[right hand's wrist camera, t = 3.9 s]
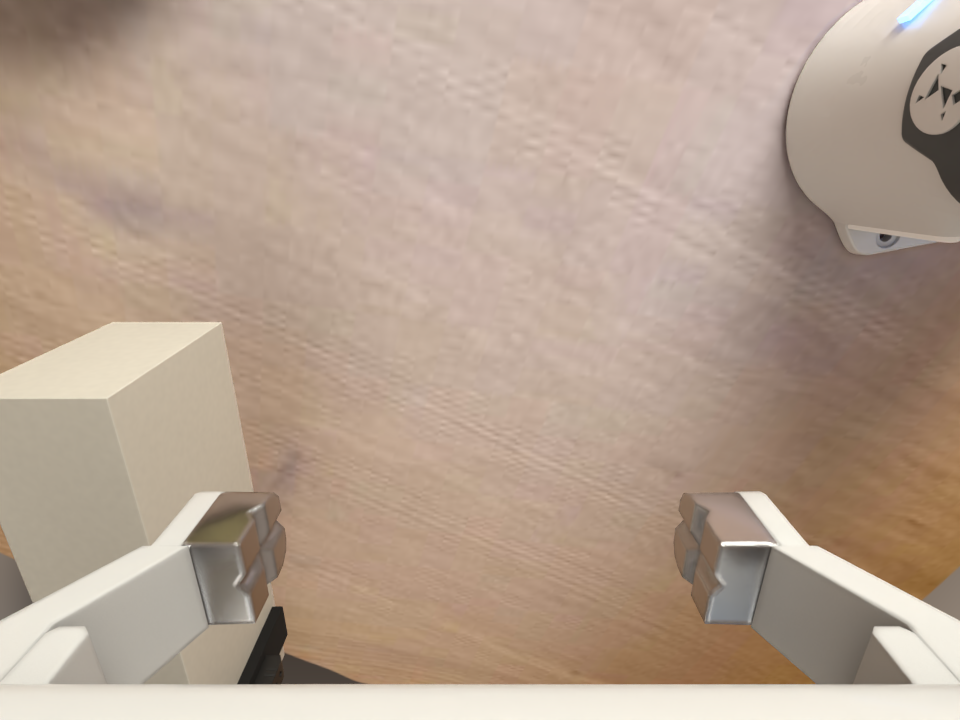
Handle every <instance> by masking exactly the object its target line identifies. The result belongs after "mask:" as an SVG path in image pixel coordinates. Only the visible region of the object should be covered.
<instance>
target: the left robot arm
mask: <svg viewBox="0 0 960 720" xmlns="http://www.w3.org/2000/svg"><path fill="white" fill-rule="evenodd" d="M286 637H287V629H286V623H285V618H284V612H283V607H272V608H271V610H270V612H269V615H268V617H267V619H266V621H265V623H264V626H263V628H262V630H261V632H260V634H259V637H258V639H257V641H256V643H255V645H254V648H253V650H252V652H251V654H250V656H249V659H248V661H247V663H246V665H245V667H244V670H243V672H242V674H241V676H240V678H239V681H238V683H237V684H281V683H282V680H283V677H284V673H283V666H282V660H281V655H279V654H280V652H281V649H282V647H283V644H284V642H285V639H286Z"/></svg>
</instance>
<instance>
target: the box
mask: <svg viewBox="0 0 960 720" xmlns="http://www.w3.org/2000/svg"><path fill="white" fill-rule="evenodd" d="M202 491H222V492H254V490H253V485H252V480H251V475H250V469H249V464H248V459H247V453H246V448H245V443H244V438H243V432H242V427H241V422H240V416H239V411H238V406H237V400H236V395H235V390H234V385H233V379H232V374H231V369H230V363H229V358H228V353H227V348H226V342H225V337H224V332H223V326H222V322H112V323H109V324H107V325H105V326H103V327H101V328H99V329H97V330H94V331H92V332H90V333H88V334H86V335H84V336H81V337H79V338H77V339H75V340H73V341H71V342H69V343H66V344H64V345H62V346H60V347H58V348H56V349H53V350H51V351H49V352H47V353H45V354H43V355H40V356H38V357H36V358H34V359H32V360H30V361H28V362H25V363H23V364H21V365H19V366H17V367H15V368H12V369H10V370H8V371H6V372H4V373H2V374H0V524H1V527H2V529H3V532H4V534H5V537H6V539H7V541H8V544H9V546H10V549H11V551H12V553H13V556H14V558H15V561H16V563H17V566H18V568H19V570H20V573H21V575H22V578H23V580H24V582H25V585H26V587H27V590H28V592H29V594H30V597H31V599H32V602H33V603H35V602H37V601H39V600H41V599H42V598H44V597H46V596H48V595H50V594H52V593H54V592H56V591H58V590H60V589H61V588H63V587H65V586H67V585H69V584H71V583H73V582H75V581H77V580H79V579H81V578H82V577H84V576H86V575H88V574H90V573H92V572H94V571H96V570H98V569H100V568H101V567H103V566H105V565H107V564H109V563H111V562H113V561H115V560H117V559H119V558H121V557H122V556H124V555H126V554H128V553H130V552H132V551H134V550H136V549H138V548H140V547H141V546H151V545H152V544H153V543H154V542H155V540H156V539H157V538H158V537H159V536H160V534H161V533H162V532H163V531H164V530H165V528H166V527H167V526H168V525H169V524H170V523H171V521H172V520H173V519H174V518H175V517H176V515H177V514H178V513H179V512H180V511H181V510H182V508H183V507H184V506H185V505H186V504H187V502H188V501H189V500H190V499H191V498H192V497H193V495H194V494H196V493H199V492H202ZM267 586H268V592H269V596H268V598H267V600H266V602H265V604H264V607H263V609H262V611H261V613H260V615H259V617H258V619H257V621H256V623H255V624H223V625H209V628H208V629H206V630H205V631H204V632H203V633H202V634H201V635H200V636H198V637H197V638H196V639H195V640H194V641H193V642H191V643H190V644H189V645H188V646H187V647H186V648H184V649H183V650H182V651H181V652H180V653H179V654H178V655H176V656H175V657H174V658H173V659H172V660H171V661H169V662H168V663H167V664H166V665H165V666H164V667H162V668H161V669H160V670H159V671H158V672H157V673H156V674H154V675H153V676H152V677H151V678H150V679H149V680H147V681H146V682H145V683H144V684H237V683H238V681H239V678H240V676H241V674H242V672H243V670H244V667H245V665H246V663H247V661H248V659H249V656H250V654H251V652H252V650H253V648H254V645H255V643H256V641H257V639H258V637H259V634H260V632H261V630H262V628H263V626H264V623H265V621H266V619H267V617H268V615H269V612H270V610H271V608H272V607H275V602H274V596H273V591H272V586H271V582H270V583H269V584H267ZM279 655H281V660H282V659H283V657H284V649H283V647H282V649H281V652H280V654H279Z"/></svg>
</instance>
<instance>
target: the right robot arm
mask: <svg viewBox="0 0 960 720" xmlns="http://www.w3.org/2000/svg"><path fill="white" fill-rule="evenodd" d="M786 147H787V154H788V160H789V163H790V167H791V170H792V173H793V175H794V177H795V179H796V181H797V183H798V185H799V187H800V188H801V190H802V191H803V192H804V194H805V195H806V196H807V197H808V198H809V200H810V201H812V202H813V203H814V204H815V205H816V206H817V207H818V208H820V209H821V210H822V211H823V212H825V213H826V214H827V215H828V216H829V217H830V218H831V219H832V221H833V222H834V224H835V227H836V230H837V232H838V235H839V237H840V239H841V242H842V244H843V245H844V247H845V248H846V249H847V251H849V252H850V253H852V254H859V255H872V254H878V253H883V252H888V251H894V250H899V249H904V248H910V247H915V246H920V245H926V244H931V243H936V242H945V243H956V242H959V241H960V0H863V1H862V2H860V3H859V4H857V5H856V6H855V7H853V8H852V9H851V10H850V11H848V12H847V13H846V14H845V15H844V16H843V17H842V18H840V19H839V20H838V21H837V22H836V23H835V24H834V25H833V26H832V27H831V29H830V30H829V31H828V32H827V33H826V34H825V35H824V37H823V38H822V39H821V40H820V42H819V43H818V44H817V46H816V47H815V49H814V50H813V52H812V53H811V55H810V56H809V58H808V60H807V62H806V63H805V65H804V67H803V69H802V71H801V73H800V75H799V78H798V80H797V82H796V85H795V88H794V91H793V94H792V97H791V100H790V105H789V109H788V115H787V123H786ZM880 234H885V235H884V236H883V238H882V239H880ZM280 512H281V506H280V501H279V496H278V495H276V494H275V493H271V492H222V491H202V492H199V493H196V494H194V495H193V497H192V498H191V499H190V500H189V501H188V502H187V504H186V505H185V506H184V507H183V508H182V510H181V511H180V512H179V513H178V514H177V515H176V517H175V518H174V519H173V520H172V521H171V523H170V524H169V525H168V526H167V527H166V528H165V530H164V531H163V532H162V533H161V534H160V536H159V537H158V538H157V539H156V540H155V542H154V543H153V544H152V545H151V546H141V547H140V548H138V549H136V550H134V551H132V552H130V553H128V554H126V555H124V556H122V557H121V558H119V559H117V560H115V561H113V562H111V563H109V564H107V565H105V566H103V567H101V568H100V569H98V570H96V571H94V572H92V573H90V574H88V575H86V576H84V577H82V578H81V579H79V580H77V581H75V582H73V583H71V584H69V585H67V586H65V587H63V588H61V589H60V590H58V591H56V592H54V593H52V594H50V595H48V596H46V597H44V598H42V599H41V600H39V601H37V602H35V603H33V604H31V605H29V606H27V607H25V608H23V609H21V610H20V611H18V612H16V613H14V614H12V615H10V616H8V617H6V618H4V619H2V620H1V621H0V720H960V621H959V620H957V619H955V618H953V617H951V616H950V615H948V614H946V613H944V612H942V611H940V610H938V609H936V608H934V607H932V606H931V605H929V604H927V603H925V602H923V601H921V600H919V599H917V598H915V597H913V596H912V595H910V594H908V593H906V592H904V591H902V590H900V589H898V588H896V587H895V586H893V585H891V584H889V583H887V582H885V581H883V580H881V579H879V578H877V577H876V576H874V575H872V574H870V573H868V572H866V571H864V570H862V569H860V568H858V567H857V566H855V565H853V564H851V563H849V562H847V561H845V560H843V559H841V558H839V557H838V556H836V555H834V554H832V553H830V552H828V551H826V550H824V549H822V548H820V547H819V546H809V545H808V544H807V543H806V542H805V540H804V539H803V538H802V537H801V536H800V534H799V533H798V532H797V531H796V530H795V529H794V527H793V526H792V525H791V524H790V523H789V521H788V520H787V519H786V518H785V517H784V516H783V514H782V513H781V512H780V511H779V510H778V508H777V507H776V506H775V505H774V504H773V503H772V501H771V500H770V499H769V498H768V497H767V495H766V494H764V493H762V492H760V491H747V492H734V493H684V494H683V496H682V498H681V500H680V505H679V512H680V514H681V516H682V517H683V519H684V520H683V521H682V522H681V523H680V524H679V525H678V526H677V527H676V528H675V535H674V553H675V559H676V562H677V566H678V569H679V571H680V573H681V575H682V577H683V578H684V579H686V580H687V581H689V582H690V583H691V584H693V586H692V592H691V596H692V598H693V600H694V602H695V604H696V606H697V609H698V611H699V613H700V615H701V617H702V619H703V621H704V623H705V624H736V625H751V628H753V629H754V630H755V631H756V632H757V633H758V634H760V635H761V636H762V637H763V638H764V639H765V640H766V641H768V642H769V643H770V644H771V645H772V646H773V647H775V648H776V649H777V650H778V651H779V652H780V653H782V654H783V655H784V656H785V657H786V658H787V659H788V660H790V661H791V662H792V663H793V664H794V665H795V666H797V667H798V668H799V669H800V670H801V671H802V672H803V673H805V674H806V675H807V676H808V677H809V678H810V679H812V680H813V681H814V682H815V683H816V684H144V683H145V682H146V681H147V680H149V679H150V678H151V677H152V676H153V675H154V674H156V673H157V672H158V671H159V670H160V669H161V668H162V667H164V666H165V665H166V664H167V663H168V662H169V661H171V660H172V659H173V658H174V657H175V656H176V655H178V654H179V653H180V652H181V651H182V650H183V649H184V648H186V647H187V646H188V645H189V644H190V643H191V642H193V641H194V640H195V639H196V638H197V637H198V636H200V635H201V634H202V633H203V632H204V631H205V630H206V629H208V628H209V625H223V624H255V623H256V621H257V619H258V617H259V615H260V613H261V611H262V609H263V607H264V604H265V602H266V600H267V598H268V596H269V592H268V586H267V584H269V583H270V582H271V581H273V580H274V579H276V578H277V577H278V575H279V573H280V571H281V568H282V566H283V563H284V558H285V553H286V534H285V528H284V527H283V526H282V525H281V524H280V523H279V522H278V521H277V520H276V519H277V517H278V516H279V514H280Z"/></svg>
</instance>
